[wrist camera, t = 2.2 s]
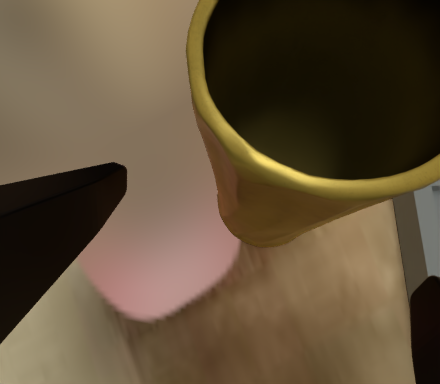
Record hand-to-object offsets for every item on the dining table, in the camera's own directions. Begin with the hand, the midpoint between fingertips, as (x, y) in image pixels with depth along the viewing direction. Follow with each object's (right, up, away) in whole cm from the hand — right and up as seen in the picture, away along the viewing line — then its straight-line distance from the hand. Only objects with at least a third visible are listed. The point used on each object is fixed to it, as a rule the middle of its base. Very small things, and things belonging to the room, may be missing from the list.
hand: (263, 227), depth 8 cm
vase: (+2, 0, +10) cm, 11 cm away
